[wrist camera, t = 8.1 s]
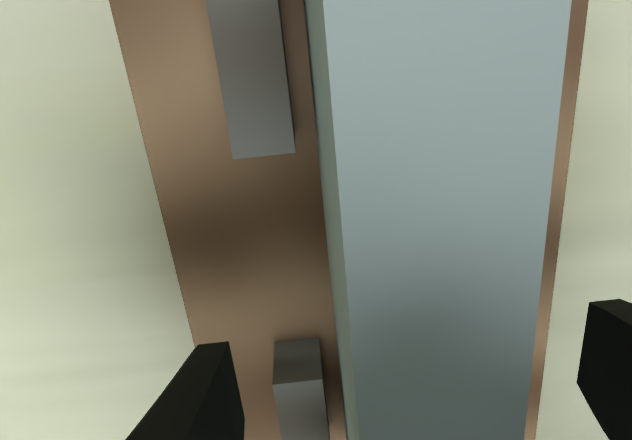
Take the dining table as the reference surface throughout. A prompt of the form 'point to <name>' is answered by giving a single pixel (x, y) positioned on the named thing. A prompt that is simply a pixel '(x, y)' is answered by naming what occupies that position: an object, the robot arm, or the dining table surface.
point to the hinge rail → (268, 197)
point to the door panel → (436, 205)
